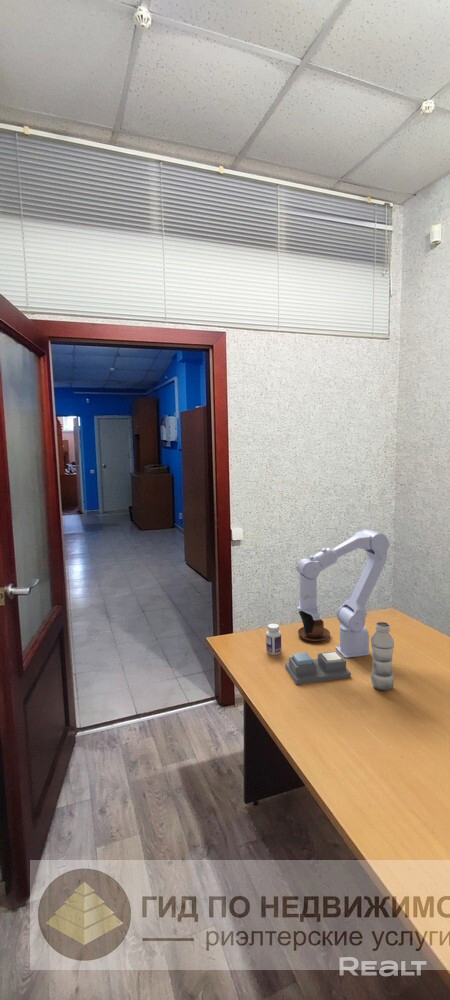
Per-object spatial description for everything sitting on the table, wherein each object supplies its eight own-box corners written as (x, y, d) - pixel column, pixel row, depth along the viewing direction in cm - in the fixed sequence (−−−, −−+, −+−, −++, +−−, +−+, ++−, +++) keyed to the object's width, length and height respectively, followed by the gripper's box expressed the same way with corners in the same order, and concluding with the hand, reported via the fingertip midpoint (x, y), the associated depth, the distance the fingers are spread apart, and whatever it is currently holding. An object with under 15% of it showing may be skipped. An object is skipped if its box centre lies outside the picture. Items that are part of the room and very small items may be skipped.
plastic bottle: (395, 694, 131) (397, 629, 128) (371, 692, 132) (372, 628, 129) (392, 682, 137) (393, 620, 134) (369, 680, 138) (369, 619, 136)
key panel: (335, 660, 151) (336, 648, 151) (350, 677, 141) (350, 663, 140) (285, 667, 148) (285, 654, 148) (296, 684, 137) (296, 671, 137)
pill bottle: (281, 648, 162) (280, 622, 160) (281, 655, 156) (281, 629, 155) (266, 647, 162) (265, 622, 161) (266, 655, 157) (265, 628, 156)
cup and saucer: (293, 632, 175) (293, 617, 174) (322, 628, 177) (322, 614, 176) (304, 645, 163) (304, 629, 162) (335, 642, 165) (335, 626, 164)
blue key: (306, 660, 146) (306, 652, 145) (312, 668, 141) (312, 659, 141) (292, 662, 145) (292, 654, 145) (297, 670, 140) (297, 661, 140)
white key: (335, 660, 148) (335, 652, 147) (341, 667, 143) (341, 659, 143) (321, 662, 147) (321, 653, 147) (327, 669, 142) (327, 660, 142)
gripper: (289, 588, 157) (290, 625, 159) (305, 602, 143) (305, 642, 145) (308, 586, 158) (308, 622, 160) (325, 600, 144) (325, 640, 146)
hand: (308, 632), depth 152 cm, fingers closed
